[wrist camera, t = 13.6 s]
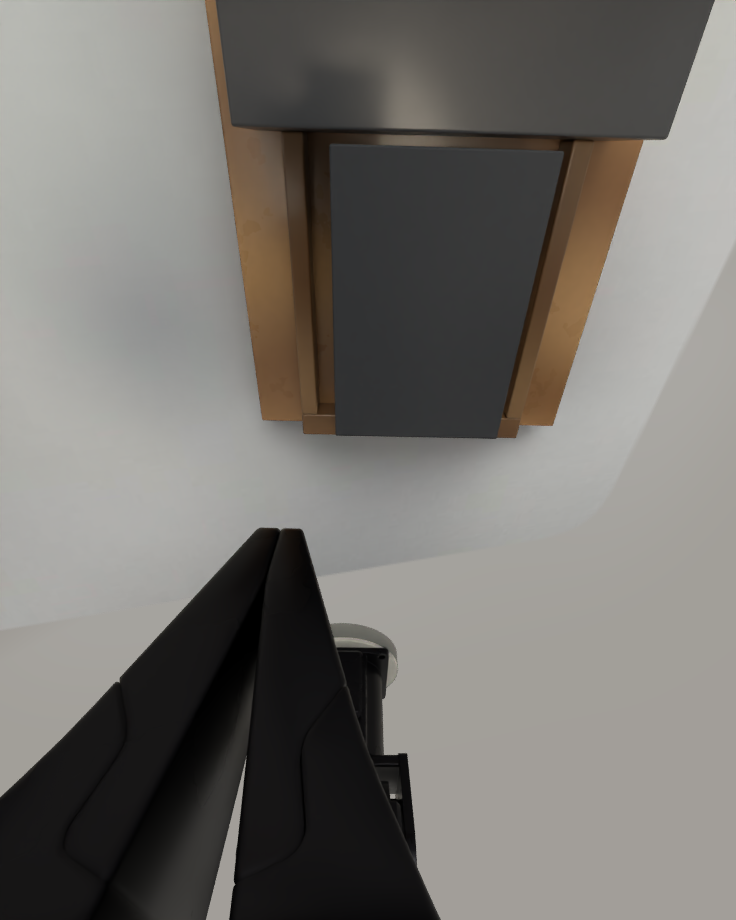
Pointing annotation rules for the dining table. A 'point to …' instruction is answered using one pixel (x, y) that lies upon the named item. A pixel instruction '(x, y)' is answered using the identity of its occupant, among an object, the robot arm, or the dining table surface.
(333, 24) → the sharpening stone on base
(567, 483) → the dining table surface
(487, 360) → the loose pad
